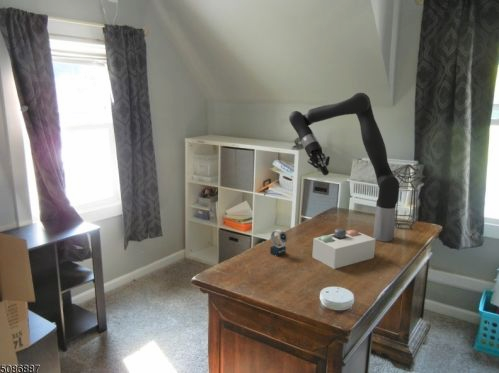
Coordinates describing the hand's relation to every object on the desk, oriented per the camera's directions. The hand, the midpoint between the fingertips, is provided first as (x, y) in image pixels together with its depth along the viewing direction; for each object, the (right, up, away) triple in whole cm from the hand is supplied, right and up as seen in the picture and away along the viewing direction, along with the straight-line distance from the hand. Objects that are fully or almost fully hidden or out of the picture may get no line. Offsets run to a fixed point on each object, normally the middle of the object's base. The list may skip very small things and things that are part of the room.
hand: (326, 174), depth 197 cm
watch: (-24, -36, -8) cm, 44 cm away
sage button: (-3, -32, -14) cm, 35 cm away
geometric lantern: (+48, -28, +34) cm, 66 cm away
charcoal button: (+4, -29, -10) cm, 31 cm away
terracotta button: (+11, -30, -6) cm, 33 cm away
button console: (+5, -38, -11) cm, 40 cm away
